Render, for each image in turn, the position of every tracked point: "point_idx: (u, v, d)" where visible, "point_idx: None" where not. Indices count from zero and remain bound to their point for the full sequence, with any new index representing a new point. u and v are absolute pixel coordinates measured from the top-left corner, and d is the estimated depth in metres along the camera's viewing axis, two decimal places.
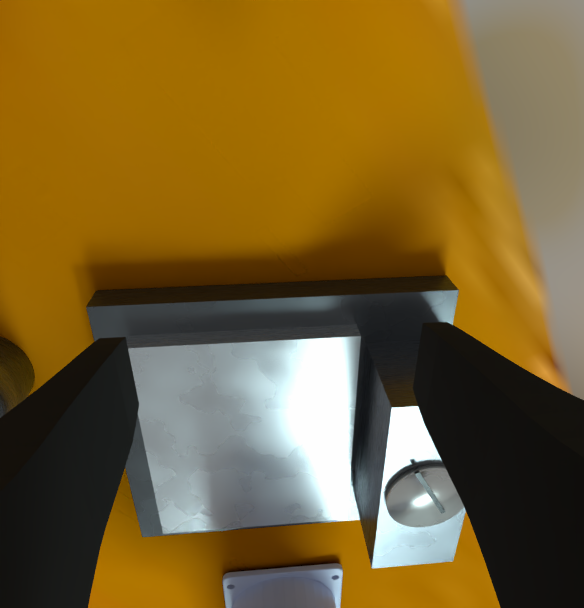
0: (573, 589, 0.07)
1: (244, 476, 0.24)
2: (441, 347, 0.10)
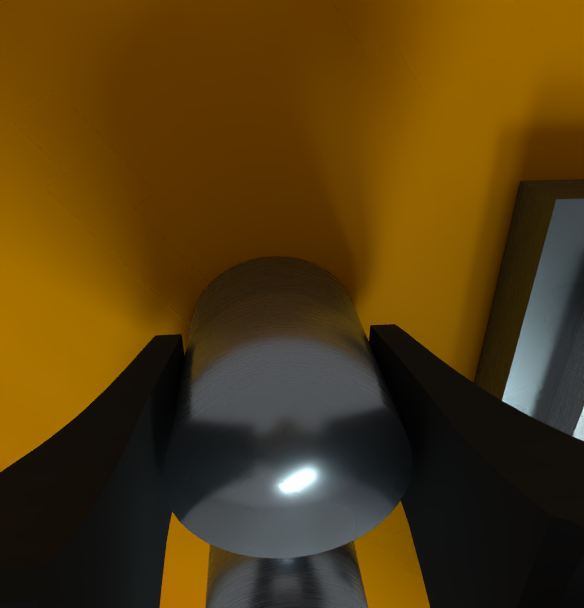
0: (483, 597, 0.07)
1: None
2: (384, 350, 0.10)
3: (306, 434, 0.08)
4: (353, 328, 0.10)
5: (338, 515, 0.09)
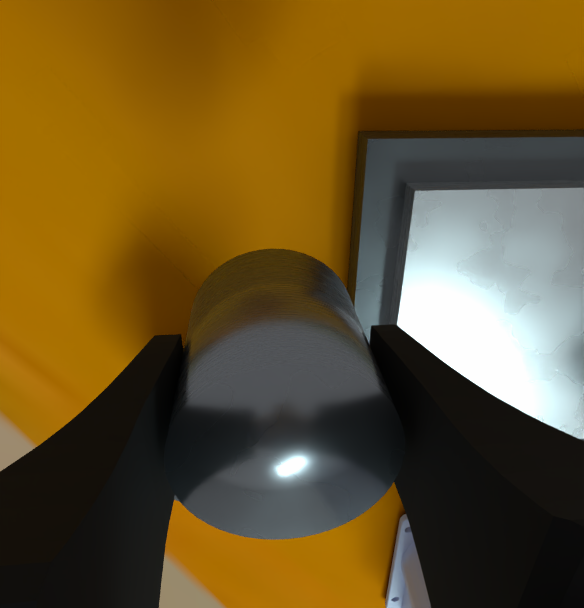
0: (484, 597, 0.07)
1: (495, 377, 0.20)
2: (384, 350, 0.10)
3: (301, 416, 0.08)
4: (348, 316, 0.10)
5: (334, 496, 0.10)
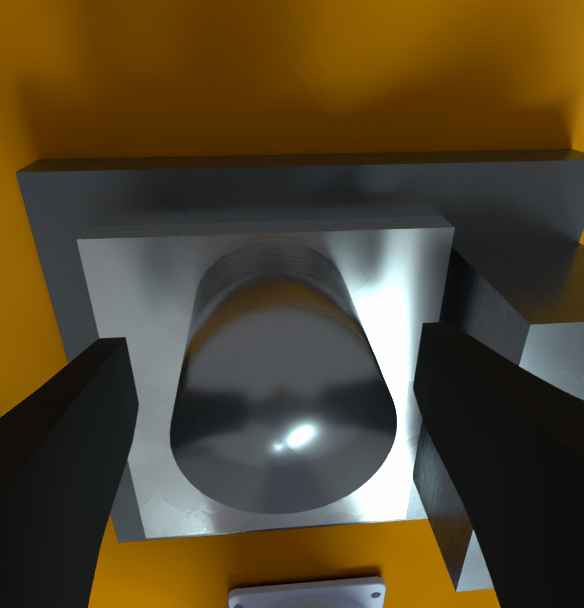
0: (573, 589, 0.07)
1: None
2: (441, 347, 0.10)
3: (300, 394, 0.09)
4: (345, 303, 0.11)
5: (330, 473, 0.10)
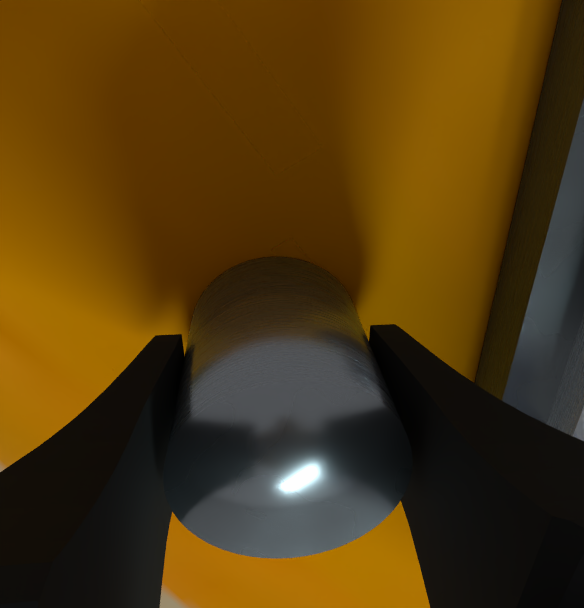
0: (483, 597, 0.07)
1: None
2: (384, 350, 0.10)
3: None
4: None
5: None
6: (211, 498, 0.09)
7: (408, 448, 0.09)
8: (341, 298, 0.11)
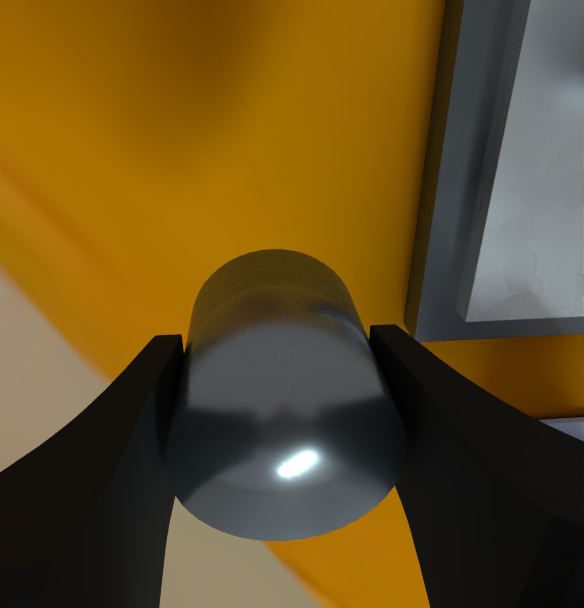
0: (484, 597, 0.07)
1: None
2: (384, 350, 0.10)
3: None
4: None
5: None
6: (211, 481, 0.09)
7: (402, 431, 0.09)
8: (338, 289, 0.12)
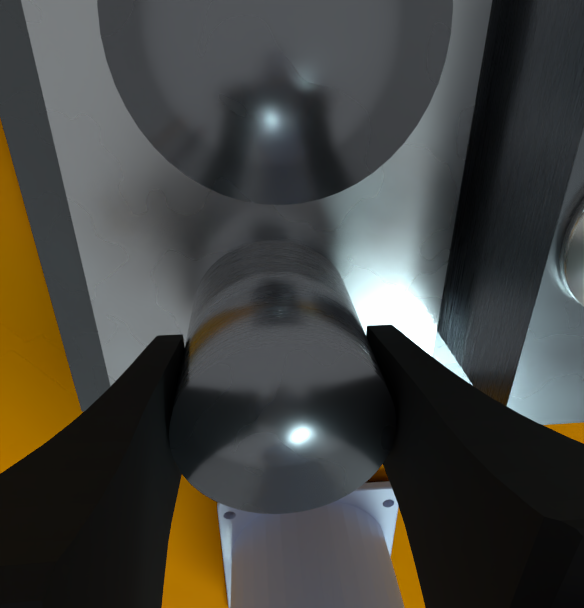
0: (477, 598, 0.06)
1: None
2: (380, 350, 0.10)
3: None
4: None
5: (347, 120, 0.07)
6: (212, 456, 0.10)
7: (391, 406, 0.09)
8: (332, 277, 0.12)
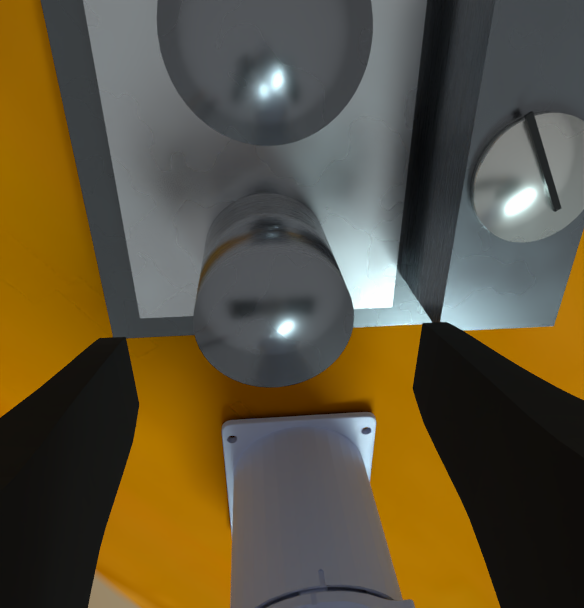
0: (573, 589, 0.07)
1: None
2: (441, 347, 0.10)
3: None
4: None
5: (310, 89, 0.11)
6: (223, 338, 0.13)
7: (349, 299, 0.13)
8: (310, 218, 0.16)
